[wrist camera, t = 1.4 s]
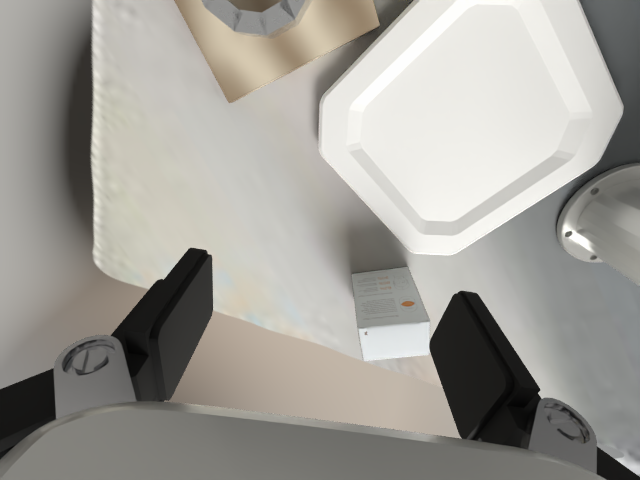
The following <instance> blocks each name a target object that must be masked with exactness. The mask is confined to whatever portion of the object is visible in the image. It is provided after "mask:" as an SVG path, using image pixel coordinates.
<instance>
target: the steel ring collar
mask: <svg viewBox="0 0 640 480" xmlns="http://www.w3.org/2000/svg"><path fill="white" fill-rule="evenodd" d="M201 1H202V3H203V5H204V7H205V8H206V9H207V10H209V11H210V12H211V13H212V14H213V15H215V16H216V17H217V18H218V19H220V20H221V21H222V22H223V23H224V24H226V25H227V26H228V27H229V28H231V29H232V30H233V31H234V32H237V33H239V34H242V35H246V36H253V37H261V38H269V39H273V38H275V37H277V36H279V35H281V34H283V33H284V32H286V31H288V30H290V29H292V28H293V27H295V26H297V25H299V23H300V21H301V20H302V18H303V16H304V14H305V12H306V11H307V9H308V7H309V5H310V4H311V2H312V0H282V1H281V2H279V3H277V4H275V5H274V6H272V7H270V8H269V9H267V10H265V11H263V12H262V13H261V12H253V11H246V10H240V9H239V8H238V7H237V6H236V5H235V4H233V3H232V2H231V1H230V0H201Z"/></svg>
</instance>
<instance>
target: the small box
mask: <svg viewBox="0 0 640 480" xmlns="http://www.w3.org/2000/svg"><path fill="white" fill-rule="evenodd" d="M352 284H353V293H354V302H355V312H356V321H357V328H358V335H359V341H360V346H361V351H362V357H363V361H370V360H380V359H390V358H401V357H412V356H422V355H429V354H430V349H429V343H430V319H429V317H428V314H427V312H426V309H425V307H424V305H423V302H422V300H421V297H420V295H419V292H418V290H417V287H416V285H415V282H414V280H413V278H412V275H411V273H410V270H409V268H408V267H401V268H394V269H386V270H378V271H370V272H363V273H355V274H352Z"/></svg>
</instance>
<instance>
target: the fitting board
mask: <svg viewBox="0 0 640 480" xmlns="http://www.w3.org/2000/svg"><path fill="white" fill-rule="evenodd" d="M174 1H175V3H176V4H177V6H178V8H179V10H180V12H181V14H182V16H183V18H184V20H185V21H186V23H187V25H188V27H189V29H190V31H191V33H192V35H193V36H194V38H195V40H196V42H197V44H198V46H199V48H200V50H201V51H202V53H203V55H204V57H205V59H206V61H207V63H208V65H209V67H210V68H211V70H212V72H213V74H214V76H215V78H216V80H217V82H218V83H219V85H220V87H221V89H222V91H223V93H224V95H225V97H226V98H227V100H228V102H229V103H231V102H234V101H236V100H238V99H240V98H242V97H244V96H245V95H247V94H249V93H251V92H253V91H255V90H257V89H259V88H261V87H263V86H265V85H267V84H269V83H271V82H273V81H275V80H276V79H278V78H280V77H282V76H284V75H286V74H288V73H290V72H292V71H294V70H296V69H298V68H300V67H302V66H304V65H306V64H307V63H309V62H311V61H313V60H315V59H317V58H319V57H321V56H323V55H325V54H327V53H329V52H331V51H333V50H335V49H337V48H338V47H340V46H342V45H344V44H346V43H348V42H350V41H352V40H354V39H356V38H358V37H360V36H362V35H364V34H366V33H368V32H369V31H371V30H373V29H375V28H377V27H379V26H380V24H379V20H378V16H377V13H376V9H375V6H374V2H373V0H312V2H311V4H310V5H309V7H308V9H307V11H306V12H305V14H304V16H303V18H302V20H301V21H300V23H299V25H297V26H295V27H293V28H292V29H290V30H288V31H286V32H284V33H283V34H281V35H279V36H277V37H275V38H273V39H269V38H261V37H253V36H246V35H242V34H239V33H237V32H234V31H233V30H232V29H231V28H229V27H228V26H227V25H226V24H224V23H223V22H222V21H221V20H220V19H218V18H217V17H216V16H215V15H213V14H212V13H211V12H210V11H209V10H207V9H206V8H205V7H204V5H203V3H202V1H201V0H174ZM230 1H231V2H232V3H233V4H235V5H236V6H237V7H238V8H239V9H240V10H246V11H253V12H261V13H262V12H263V11H265V10H267V9H269V8H270V7H272V6H274V5H275V4H277V3H279V2H281V1H282V0H230Z"/></svg>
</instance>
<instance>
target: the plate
mask: <svg viewBox="0 0 640 480" xmlns="http://www.w3.org/2000/svg"><path fill="white" fill-rule="evenodd" d="M623 108H624V106H623V103H622V101H621V98H620V96H619V94H618V91H617V89H616V87H615V84H614V82H613V80H612V77H611V75H610V72H609V70H608V68H607V65H606V63H605V61H604V58H603V56H602V54H601V51H600V49H599V46H598V44H597V42H596V39H595V37H594V35H593V32H592V30H591V28H590V25H589V23H588V20H587V18H586V16H585V13H584V11H583V9H582V6H581V4H580V2H579V0H414V1H413V2H412V3H411V4H410V5H409V6H408V7H407V8H406V9H405V10H404V11H403V12H402V13H401V14H400V15H399V16H398V17H397V18H396V19H395V20H394V21H393V22H392V23H391V24H390V26H389V27H388V28H387V29H386V30H385V31H384V32H383V33H382V34H381V35H380V36H379V37H378V38H377V39H376V40H375V41H374V42H373V43H372V44H371V45H370V46H369V47H368V48H367V49H366V51H365V52H364V53H363V54H362V55H361V56H360V57H359V58H358V59H357V60H356V61H355V62H354V63H353V64H352V65H351V66H350V67H349V68H348V69H347V70H346V71H345V72H344V73H343V74H342V75H341V77H340V78H339V79H338V80H337V81H336V82H335V83H334V84H333V85H332V86H331V87H330V88H329V89H328V90H327V91H326V92H325V93H324V94H323V96H322V98H321V100H320V103H319V137H318V149H319V151H320V154H321V156H322V157H323V158H324V159H325V160H326V161H327V162H328V163H329V165H330V166H331V167H332V168H333V169H334V170H335V171H336V172H337V173H338V174H339V175H340V176H341V178H342V179H343V180H344V181H345V182H346V183H347V184H348V185H349V186H350V187H351V188H352V189H353V191H354V192H355V193H356V194H357V195H358V196H359V197H360V198H361V199H362V200H363V201H364V203H365V204H366V205H367V206H368V207H369V208H370V209H371V210H372V211H373V212H374V213H375V214H376V216H377V217H378V218H379V219H380V220H381V221H382V222H383V223H384V224H385V225H386V226H387V227H388V229H389V230H390V231H391V232H392V233H393V234H394V235H395V236H396V237H397V238H398V239H399V240H400V242H401V243H402V244H403V245H404V246H405V247H406V248H407V249H408V250H409V251H410V252H412V253H415V254H435V255H452V254H455V253H457V252H459V251H460V250H462V249H464V248H465V247H467V246H468V245H470V244H472V243H473V242H475V241H476V240H478V239H479V238H481V237H483V236H484V235H486V234H487V233H489V232H491V231H492V230H494V229H495V228H497V227H498V226H500V225H502V224H503V223H505V222H506V221H508V220H510V219H511V218H513V217H514V216H516V215H517V214H519V213H521V212H522V211H524V210H525V209H527V208H529V207H530V206H532V205H533V204H535V203H536V202H538V201H540V200H541V199H543V198H544V197H546V196H548V195H549V194H551V193H552V192H554V191H555V190H557V189H559V188H560V187H562V186H563V185H565V184H567V183H568V182H570V181H571V180H573V179H574V178H576V177H578V176H579V175H581V174H582V173H584V172H586V171H587V170H589V169H590V168H592V167H593V166H595V165H596V163H597V162H598V161H599V160H600V159H601V157H602V155H603V153H604V151H605V149H606V147H607V145H608V143H609V141H610V139H611V137H612V135H613V133H614V131H615V129H616V127H617V125H618V123H619V121H620V119H621V117H622V115H623Z"/></svg>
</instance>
